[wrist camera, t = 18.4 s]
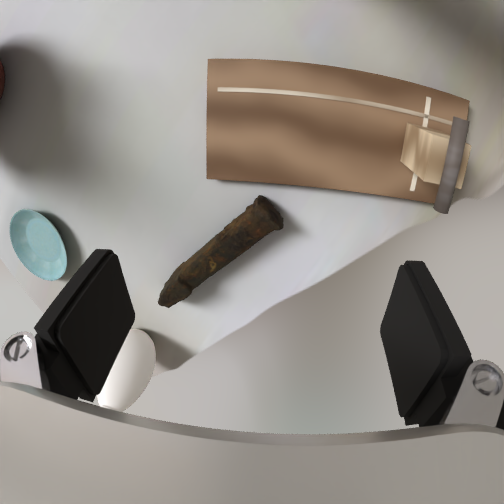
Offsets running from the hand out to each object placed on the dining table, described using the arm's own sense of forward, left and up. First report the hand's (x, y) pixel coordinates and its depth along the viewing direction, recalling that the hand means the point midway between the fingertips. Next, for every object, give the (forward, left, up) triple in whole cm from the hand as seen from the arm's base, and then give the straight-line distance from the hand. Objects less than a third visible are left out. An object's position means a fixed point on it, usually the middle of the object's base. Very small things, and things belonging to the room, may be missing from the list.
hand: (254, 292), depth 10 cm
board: (-2, +7, -23) cm, 24 cm away
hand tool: (+14, -6, -24) cm, 28 cm away
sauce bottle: (+30, -18, -23) cm, 42 cm away
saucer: (+14, -32, -23) cm, 42 cm away
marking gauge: (-2, +15, -21) cm, 26 cm away
